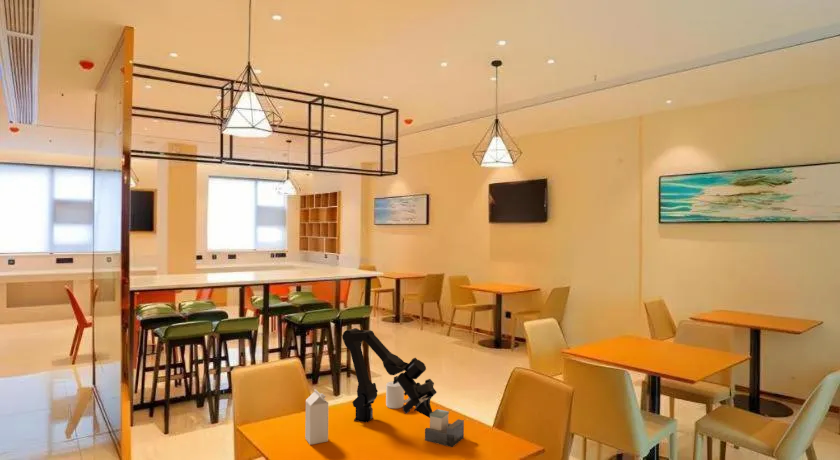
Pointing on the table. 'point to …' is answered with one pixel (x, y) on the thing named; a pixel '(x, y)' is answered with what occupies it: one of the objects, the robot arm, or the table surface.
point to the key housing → (446, 434)
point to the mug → (395, 396)
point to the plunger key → (439, 420)
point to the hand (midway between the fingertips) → (433, 418)
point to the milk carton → (316, 418)
